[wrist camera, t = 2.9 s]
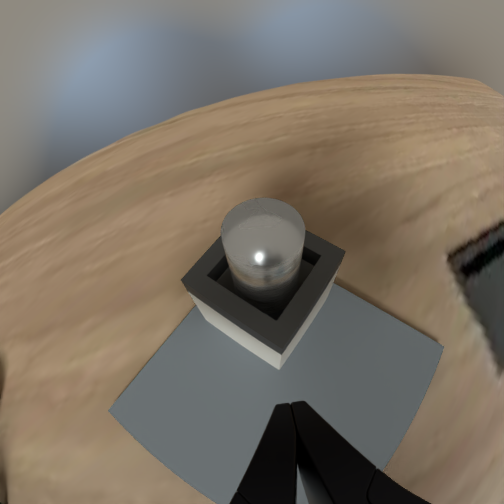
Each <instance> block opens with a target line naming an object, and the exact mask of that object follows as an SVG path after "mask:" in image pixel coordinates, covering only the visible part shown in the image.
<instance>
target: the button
mask: <svg viewBox="0 0 504 504" xmlns="http://www.w3.org/2000/svg"><path fill="white" fill-rule="evenodd" d="M304 238H305V225H304V221H303V219H302V217H301V215H300V214H299V213H298V211H297V210H296V209H295V208H293V207H292V206H291V205H289V204H287V203H286V202H283V201H281V200H277V199H273V198H255V199H250V200H247V201H245V202H242V203H240V204H239V205H237V206H235V207H234V208H233V209H232V210H231V211H230V212H229V213H228V214H227V215H226V217H225V218H224V220H223V223H222V226H221V239H222V243H223V247H224V250H225V254H226V258H227V262H228V265H229V269H230V273H231V276H232V280H233V283H234V287H235V291H236V294H237V296H238V297H240V298H241V299H243V300H244V301H246V302H247V303H249V304H251V305H252V306H254V307H255V308H257V309H258V310H260V311H262V312H263V313H265V314H270V313H275V312H278V311H280V310H282V309H284V308H285V307H287V306H288V304H289V303H290V301H291V300H292V299H293V297H294V296H295V294H296V290H297V284H298V277H299V271H300V265H301V259H302V252H303V245H304Z"/></svg>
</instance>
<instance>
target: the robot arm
mask: <svg viewBox="0 0 504 504" xmlns="http://www.w3.org/2000/svg"><path fill="white" fill-rule="evenodd" d="M297 466H298V470H299V474H300V477H301V481H302V484H303V487H304V491H305V494H306V497H307V500H308V503H309V504H431V503H429V502H427V501H425V500H424V499H422V498H420V497H418V496H416V495H415V494H413V493H411V492H410V491H408V490H407V489H405V488H403V487H402V486H400V485H399V484H398V483H396V482H395V481H394V480H392V479H391V478H390V477H388V476H387V475H386V474H385V473H384V472H382V471H381V470H380V469H379V468H377V469H376V466H375V465H374V464H373V463H372V462H370V461H369V460H368V459H367V458H366V457H365V456H364V455H363V454H361V453H360V452H359V451H358V450H357V449H356V448H355V447H354V446H352V445H351V444H350V443H349V442H348V441H347V440H346V439H345V438H344V437H343V436H341V435H340V434H339V433H338V432H337V431H336V430H335V429H334V428H333V427H332V426H331V425H330V424H329V423H328V422H327V421H326V420H324V419H323V418H322V417H321V416H320V415H319V414H318V413H317V412H316V411H315V410H314V409H313V408H312V407H311V406H310V405H309V404H308V403H307V402H306V401H304V400H302V401H295V402H292V403H291V404H290V403H281V404H276V405H275V407H274V409H273V411H272V414H271V416H270V419H269V421H268V423H267V426H266V428H265V430H264V433H263V435H262V437H261V439H260V442H259V444H258V446H257V448H256V450H255V453H254V455H253V457H252V459H251V461H250V463H249V465H248V467H247V470H246V472H245V474H244V476H243V478H242V480H241V482H240V484H239V486H238V488H237V492H235V493H234V495H233V497H232V499H231V501H230V503H229V504H297Z"/></svg>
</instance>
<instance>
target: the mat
mask: <svg viewBox="0 0 504 504" xmlns="http://www.w3.org/2000/svg"><path fill="white" fill-rule="evenodd" d="M285 309H286V307H285V308H284V309H282V310H280V311H278V312H275V313H270V314H266V315H268V316H269V317H271V318H273V319H274V320H276V321H277V320H278V318H279V317H280V316H281V314H282V313H283V311H284V310H285ZM443 349H444V346H442V345H441V344H439V343H437V342H436V341H434V340H432V339H430V338H429V337H427V336H425V335H424V334H422V333H420V332H418V331H417V330H415V329H413V328H412V327H410V326H408V325H406V324H405V323H403V322H401V321H399V320H398V319H396V318H394V317H393V316H391V315H389V314H387V313H386V312H384V311H382V310H380V309H379V308H377V307H375V306H373V305H372V304H370V303H368V302H366V301H365V300H363V299H361V298H359V297H358V296H356V295H354V294H352V293H351V292H349V291H347V290H345V289H343V288H342V287H340V286H338V285H336V284H335V283H333V285H332V287H331V290H330V292H329V295H328V297H327V299H326V301H325V302H324V304H323V305H322V307H321V309H320V310H319V312H318V313H317V315H316V316H315V318H314V320H313V321H312V323H311V324H310V326H309V327H308V329H307V330H306V332H305V333H304V335H303V336H302V338H301V339H300V341H299V342H298V344H297V345H296V347H295V348H294V350H293V351H292V353H291V354H290V355H289V357H288V358H287V360H286V361H285V363H284V364H283V365H282V367H281V368H280V370H278V369H277V368H275V367H274V366H272V365H270V364H269V363H267V362H266V361H264V360H263V359H261V358H260V357H258V356H257V355H255V354H254V353H252V352H251V351H249V350H248V349H246V348H245V347H243V346H242V345H240V344H239V343H238V342H236V341H235V340H233V339H232V338H230V337H229V336H228V335H226V334H225V333H223V332H222V331H220V330H219V329H218V328H216V327H215V326H214V325H212V324H211V323H209V322H208V321H207V320H206V319H205V318H204V316H203V315H202V313H201V312H200V310H199V308H198V307H197V305H196V306H195V307H194V308H193V309H192V310H191V312H190V313H189V314H188V315H187V316H186V317H185V319H184V320H183V321H182V322H181V323H180V325H179V326H178V327H177V328H176V329H175V331H174V332H173V333H172V334H171V335H170V337H169V338H168V339H167V340H166V341H165V343H164V344H163V345H162V346H161V347H160V349H159V350H158V351H157V352H156V353H155V355H154V356H153V357H152V358H151V359H150V361H149V362H148V363H147V364H146V365H145V367H144V368H143V369H142V370H141V371H140V373H139V374H138V375H137V376H136V377H135V379H134V380H133V381H132V382H131V383H130V385H129V386H128V387H127V388H126V389H125V391H124V392H123V393H122V394H121V395H120V397H119V398H118V399H117V400H116V402H115V403H114V404H113V405H112V406H111V408H110V409H109V410H108V411H109V412H110V413H111V414H112V416H113V417H114V418H115V419H116V420H117V421H118V422H119V423H120V424H121V425H122V426H123V427H124V428H125V429H126V430H127V431H128V432H129V433H130V434H131V435H132V436H133V437H134V438H135V439H136V440H137V441H138V442H139V443H140V444H141V445H142V446H143V447H144V448H146V449H147V450H148V451H149V452H150V453H151V454H152V455H153V456H154V457H156V458H157V459H158V460H159V461H160V462H161V463H163V464H164V465H165V466H166V467H167V468H169V469H170V470H171V471H172V472H174V473H175V474H176V475H177V476H179V477H180V478H181V479H183V480H184V481H185V482H187V483H188V484H189V485H191V486H192V487H193V488H195V489H196V490H197V491H199V492H200V493H202V494H203V495H205V496H206V497H208V498H209V499H211V500H212V501H214V502H215V503H217V504H229V503H230V501H231V499H232V497H233V495H234V493H235V492H237V488H238V486H239V484H240V482H241V480H242V478H243V476H244V474H245V472H246V470H247V467H248V465H249V463H250V461H251V459H252V457H253V455H254V453H255V450H256V448H257V446H258V444H259V442H260V439H261V437H262V435H263V433H264V430H265V428H266V426H267V423H268V421H269V419H270V416H271V414H272V411H273V409H274V407H275V405H276V404H281V403H290V404H291V403H292V402H295V401H302V400H304V401H306V402H307V403H308V404H309V405H310V406H311V407H312V408H313V409H314V410H315V411H316V412H317V413H318V414H319V415H320V416H321V417H322V418H323V419H324V420H326V421H327V422H328V423H329V424H330V425H331V426H332V427H333V428H334V429H335V430H336V431H337V432H338V433H339V434H340V435H341V436H343V437H344V438H345V439H346V440H347V441H348V442H349V443H350V444H351V445H352V446H354V447H355V448H356V449H357V450H358V451H359V452H360V453H361V454H363V455H364V456H365V457H366V458H367V459H368V460H369V461H370V462H372V463H373V464H374V465H375V466H376V469H377V468H379V469H380V470H381V471H383V469H384V468H385V466H386V465H387V463H388V462H389V460H390V459H391V457H392V456H393V454H394V452H395V451H396V449H397V447H398V446H399V444H400V442H401V440H402V439H403V437H404V435H405V433H406V432H407V430H408V428H409V426H410V424H411V422H412V420H413V418H414V417H415V415H416V413H417V411H418V409H419V406H420V404H421V402H422V400H423V398H424V396H425V394H426V391H427V389H428V387H429V385H430V382H431V380H432V378H433V375H434V373H435V370H436V368H437V365H438V363H439V360H440V357H441V355H442V352H443ZM297 504H309V503H308V500H307V497H306V494H305V491H304V487H303V484H302V481H301V477H300V474H299V470H298V466H297Z"/></svg>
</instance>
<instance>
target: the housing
mask: <svg viewBox="0 0 504 504" xmlns="http://www.w3.org/2000/svg"><path fill="white" fill-rule="evenodd" d="M344 254H345V251H344V250H343V249H341V248H339V247H337V246H335V245H333V244H331V243H329V242H328V241H326V240H324V239H322V238H320V237H318V236H316V235H314V234H312V233H310V232H308V231H306V230H305V238H304V245H303V252H302V259H301V265H300V271H299V277H298V284H297V290H296V294H295V296H294V297H293V299H292V300H291V301H290V303H289V304H288V306H287V307H286V309H285V310H284V311H283V313H282V314H281V316H280V317H279V318H278V320H277V321H276V320H274V319H273V318H271V317H269V316H268V315H266V314H265V313H263V312H262V311H260V310H258V309H257V308H255V307H254V306H252V305H251V304H249V303H247V302H246V301H244V300H243V299H241V298H240V297H238V296H237V294H236V291H235V287H234V283H233V280H232V276H231V273H230V269H229V265H228V262H227V258H226V254H225V250H224V247H223V243H222V239H221V236H220V237H219V238H218V239H217V240H216V241H215V243H214V244H213V245H212V246H211V247H210V248H209V249H208V250H207V251H206V252H205V254H204V255H203V256H202V257H201V258H200V259H199V260H198V261H197V262H196V263H195V265H194V266H193V267H192V268H191V269H190V270H189V271H188V272H187V274H186V275H185V276H184V277H183V278H182V279H181V281H182V283H183V284H184V286H185V288H186V289H187V291H188V292H189V294H190V296H191V297H192V299H193V301H194V302H195V304H196V305H197V307H198V308H199V310H200V312H201V313H202V315H203V316H204V318H205V319H206V320H207V321H208V322H209V323H211V324H212V325H214V326H215V327H216V328H218V329H219V330H220V331H222V332H223V333H225V334H226V335H228V336H229V337H230V338H232V339H233V340H235V341H236V342H238V343H239V344H240V345H242V346H243V347H245V348H246V349H248V350H249V351H251V352H252V353H254V354H255V355H257V356H258V357H260V358H261V359H263V360H264V361H266V362H267V363H269V364H270V365H272V366H274V367H275V368H277V369H278V370H280V368H281V367H282V365H283V364H284V363H285V361H286V360H287V358H288V357H289V355H290V354H291V353H292V351H293V350H294V348H295V347H296V345H297V344H298V342H299V341H300V339H301V338H302V336H303V335H304V333H305V332H306V330H307V329H308V327H309V326H310V324H311V323H312V321H313V320H314V318H315V316H316V315H317V313H318V312H319V310H320V309H321V307H322V305H323V304H324V302H325V301H326V299H327V297H328V295H329V292H330V290H331V287H332V285H333V282H334V280H335V277H336V275H337V272H338V270H339V267H340V264H341V262H342V259H343V257H344Z"/></svg>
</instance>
